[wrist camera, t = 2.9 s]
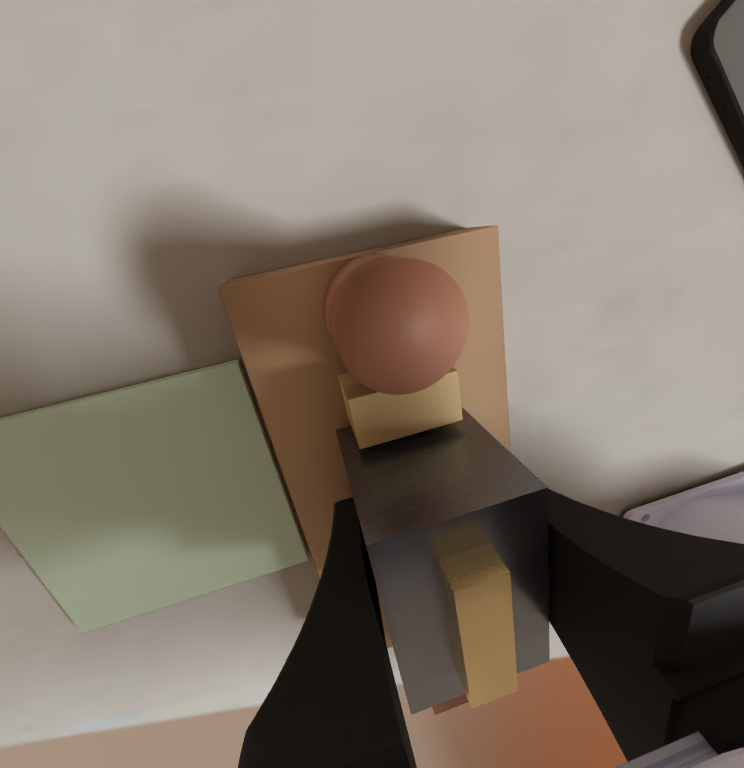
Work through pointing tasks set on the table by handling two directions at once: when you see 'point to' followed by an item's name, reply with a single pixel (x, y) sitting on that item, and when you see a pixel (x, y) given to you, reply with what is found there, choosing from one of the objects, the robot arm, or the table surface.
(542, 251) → the table surface
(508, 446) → the block sculpture plaque
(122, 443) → the mat
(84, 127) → the table surface
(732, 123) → the smartphone
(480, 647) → the grey block
